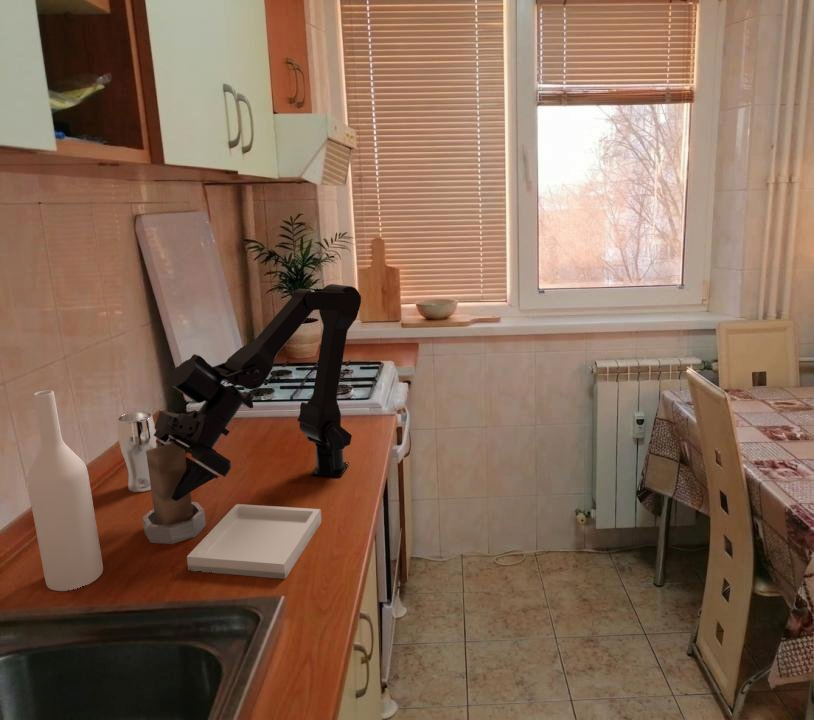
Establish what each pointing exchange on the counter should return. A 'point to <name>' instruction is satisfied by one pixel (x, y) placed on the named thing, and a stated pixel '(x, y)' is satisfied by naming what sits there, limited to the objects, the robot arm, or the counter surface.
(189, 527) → the grey octagonal ring
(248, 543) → the tray
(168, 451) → the walnut block
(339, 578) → the counter surface
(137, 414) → the beer glass
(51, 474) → the bottle
